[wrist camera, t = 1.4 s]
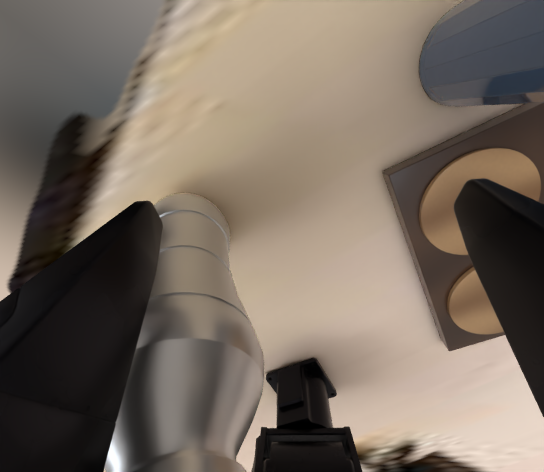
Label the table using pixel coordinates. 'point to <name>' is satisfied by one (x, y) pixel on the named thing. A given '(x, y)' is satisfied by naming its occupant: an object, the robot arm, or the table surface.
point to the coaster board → (442, 221)
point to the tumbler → (486, 54)
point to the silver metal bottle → (190, 354)
